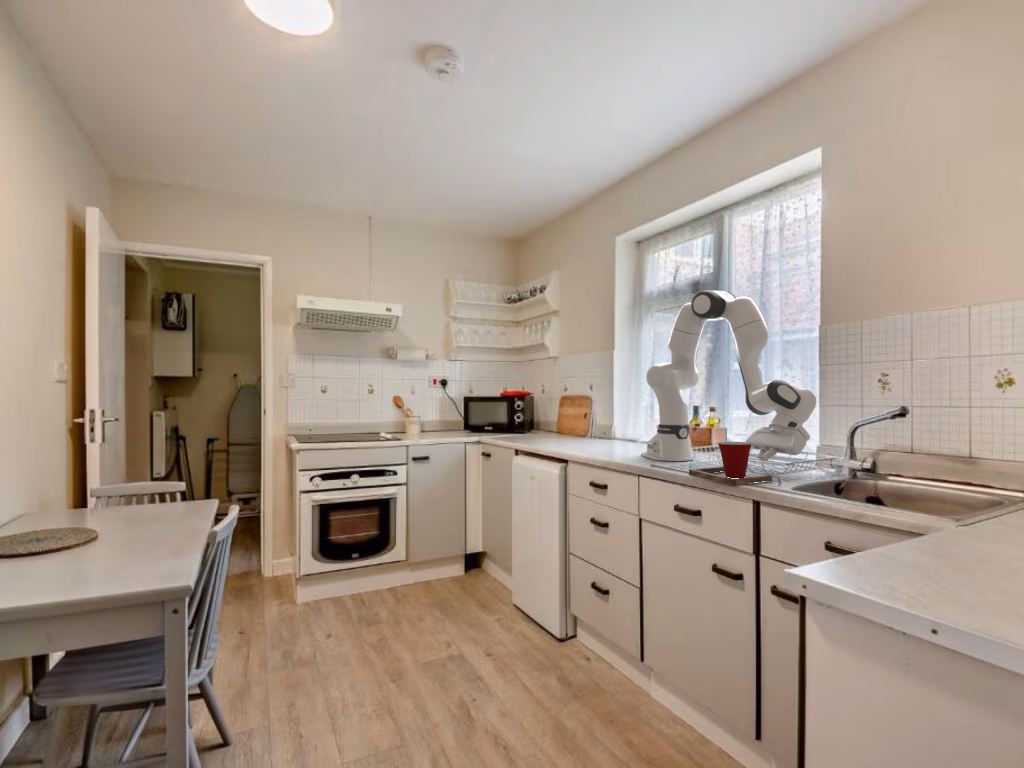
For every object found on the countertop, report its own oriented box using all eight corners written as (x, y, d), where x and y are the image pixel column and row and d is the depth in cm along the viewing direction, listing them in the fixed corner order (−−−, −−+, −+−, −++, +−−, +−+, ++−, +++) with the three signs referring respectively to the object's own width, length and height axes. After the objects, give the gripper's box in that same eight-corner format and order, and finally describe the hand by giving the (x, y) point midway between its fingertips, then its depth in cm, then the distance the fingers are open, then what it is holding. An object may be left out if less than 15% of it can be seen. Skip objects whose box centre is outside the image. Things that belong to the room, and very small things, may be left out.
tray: (689, 474, 170) (689, 469, 170) (724, 471, 175) (724, 466, 175) (733, 486, 151) (733, 480, 151) (772, 481, 156) (771, 475, 156)
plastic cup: (748, 474, 168) (747, 439, 168) (757, 481, 157) (757, 443, 157) (714, 474, 170) (713, 439, 170) (721, 480, 159) (720, 443, 159)
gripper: (754, 420, 180) (733, 449, 177) (804, 424, 161) (782, 457, 157) (764, 432, 181) (743, 461, 178) (815, 437, 162) (793, 470, 159)
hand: (761, 459), depth 168 cm, fingers closed
